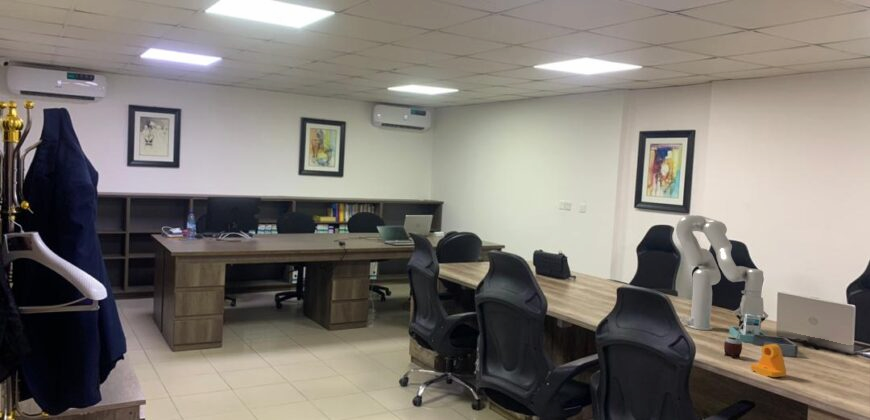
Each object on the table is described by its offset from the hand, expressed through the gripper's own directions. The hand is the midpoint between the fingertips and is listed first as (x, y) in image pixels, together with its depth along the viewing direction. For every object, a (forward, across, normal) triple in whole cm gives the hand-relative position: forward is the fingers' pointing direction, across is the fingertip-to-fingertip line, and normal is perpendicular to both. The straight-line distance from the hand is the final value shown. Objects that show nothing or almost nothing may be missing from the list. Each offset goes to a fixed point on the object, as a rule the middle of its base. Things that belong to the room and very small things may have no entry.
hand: (749, 329), depth 311 cm
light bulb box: (+3, 0, 0) cm, 3 cm away
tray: (+5, 0, 0) cm, 5 cm away
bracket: (+5, -11, -63) cm, 64 cm away
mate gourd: (+5, -18, -40) cm, 44 cm away
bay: (+5, +5, -20) cm, 21 cm away
